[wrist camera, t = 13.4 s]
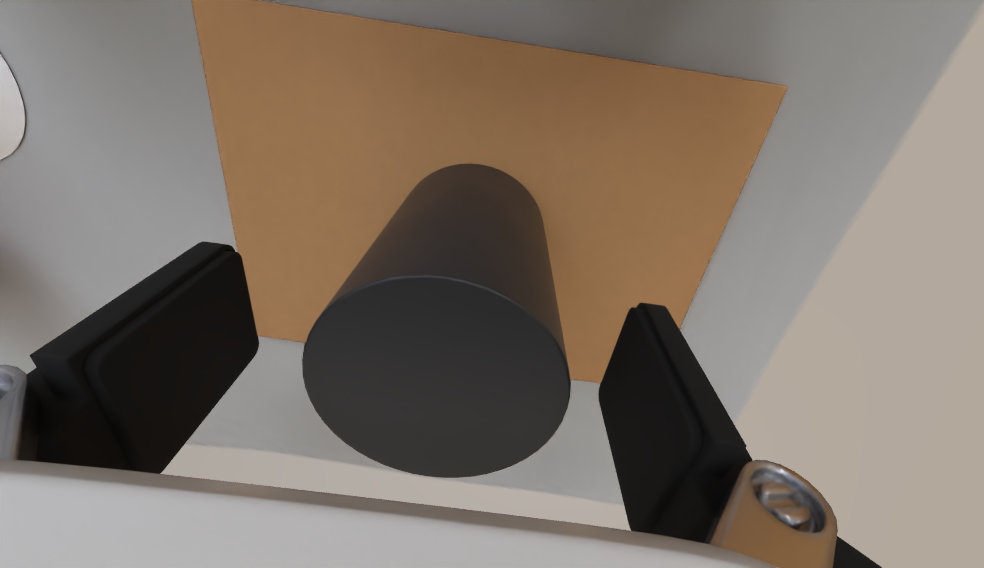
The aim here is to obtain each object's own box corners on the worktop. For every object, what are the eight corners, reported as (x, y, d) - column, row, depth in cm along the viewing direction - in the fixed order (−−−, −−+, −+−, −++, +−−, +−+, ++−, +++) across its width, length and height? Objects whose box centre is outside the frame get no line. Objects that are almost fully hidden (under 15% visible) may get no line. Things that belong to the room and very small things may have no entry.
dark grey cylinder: (397, 288, 18) (312, 462, 11) (401, 151, 15) (286, 253, 8) (529, 306, 19) (541, 492, 11) (558, 175, 16) (603, 299, 8)
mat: (259, 328, 21) (252, 335, 20) (200, -9, 14) (188, -12, 13) (648, 382, 21) (651, 390, 21) (779, 85, 14) (789, 86, 14)
